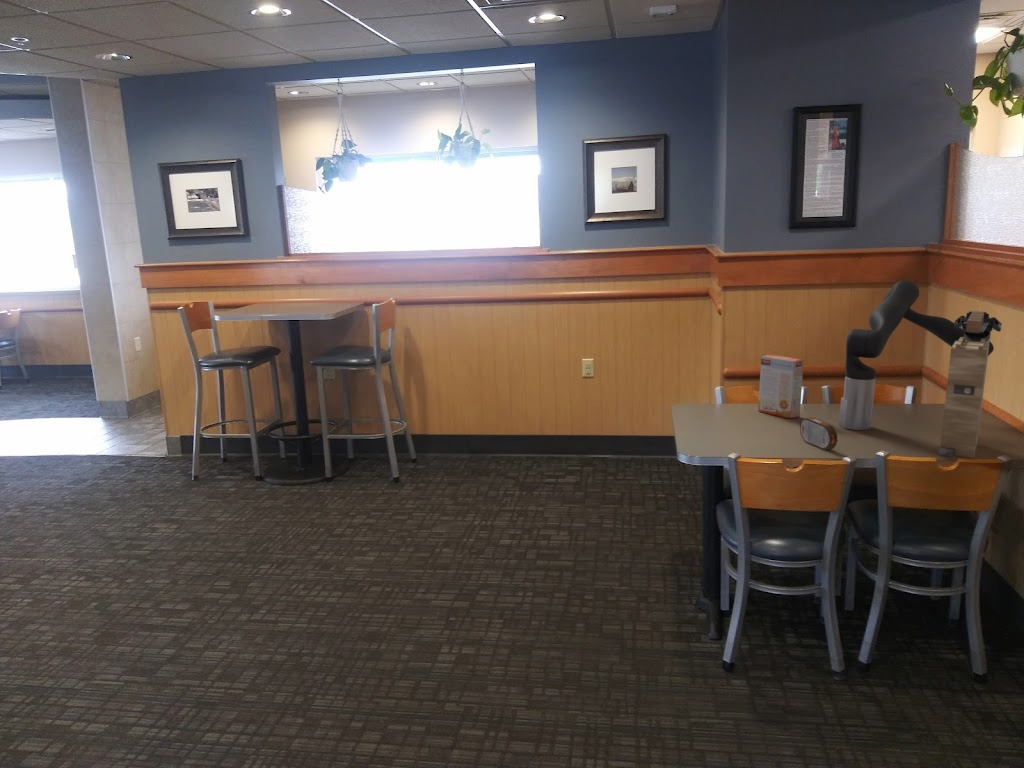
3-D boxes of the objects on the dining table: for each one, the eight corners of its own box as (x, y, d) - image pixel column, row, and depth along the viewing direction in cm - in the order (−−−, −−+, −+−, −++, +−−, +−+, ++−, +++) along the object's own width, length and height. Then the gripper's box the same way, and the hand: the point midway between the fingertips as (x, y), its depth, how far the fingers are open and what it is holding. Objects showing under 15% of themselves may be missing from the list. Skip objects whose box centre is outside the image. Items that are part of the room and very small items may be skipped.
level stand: (943, 439, 246) (954, 336, 239) (977, 444, 241) (990, 339, 234) (936, 457, 229) (948, 346, 222) (972, 462, 224) (986, 349, 217)
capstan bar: (971, 321, 251) (972, 311, 250) (983, 322, 249) (985, 311, 248) (965, 332, 231) (967, 320, 230) (979, 332, 229) (980, 321, 229)
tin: (837, 452, 235) (839, 425, 233) (828, 453, 234) (830, 426, 232) (805, 439, 249) (807, 413, 247) (797, 439, 248) (799, 414, 246)
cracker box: (800, 416, 276) (804, 359, 271) (790, 419, 272) (794, 361, 268) (768, 409, 287) (771, 353, 283) (757, 411, 284) (760, 355, 279)
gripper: (954, 323, 263) (953, 302, 249) (1003, 325, 255) (1005, 304, 241) (951, 343, 261) (950, 323, 247) (1000, 347, 254) (1002, 327, 240)
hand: (977, 314), depth 244 cm, fingers closed on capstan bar, 3 cm apart
